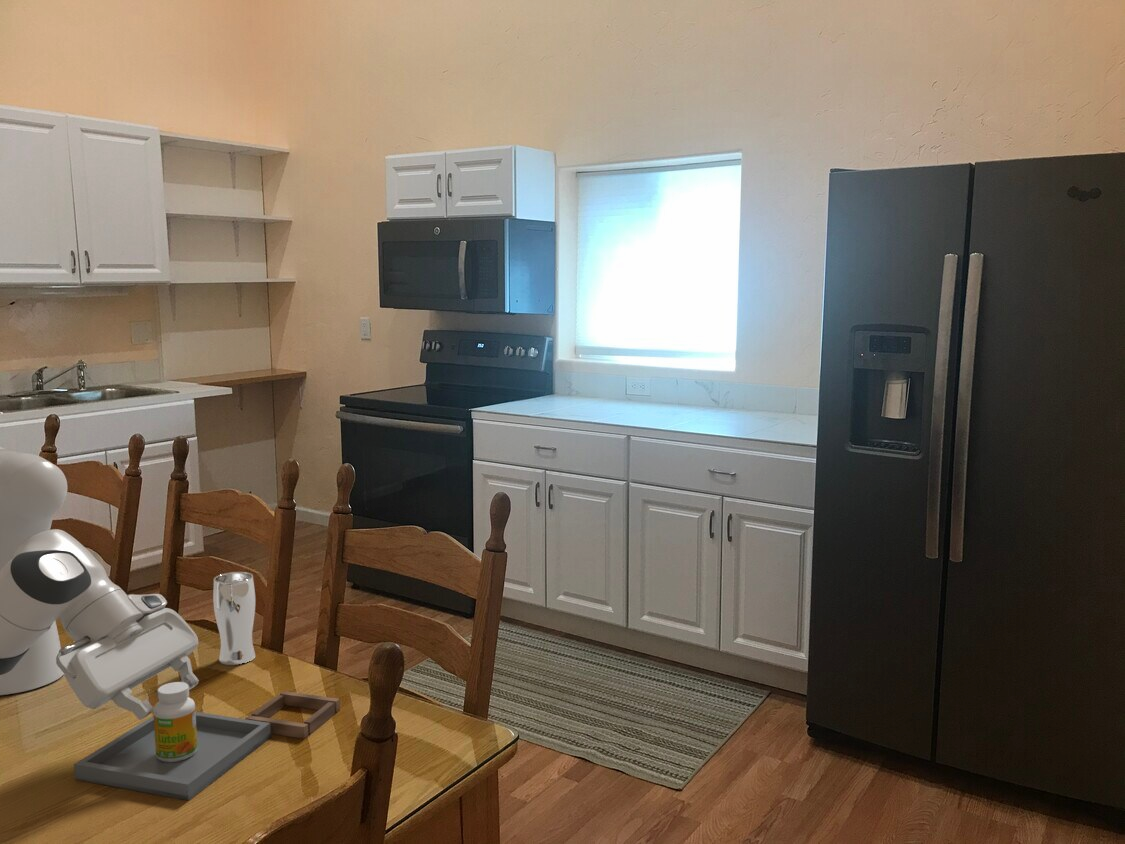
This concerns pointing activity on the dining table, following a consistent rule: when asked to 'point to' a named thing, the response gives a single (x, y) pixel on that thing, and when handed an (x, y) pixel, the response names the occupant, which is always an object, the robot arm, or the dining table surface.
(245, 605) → the beer glass
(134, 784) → the grey tray
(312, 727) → the frame
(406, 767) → the dining table surface
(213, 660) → the dining table surface
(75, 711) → the dining table surface
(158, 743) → the supplement bottle
